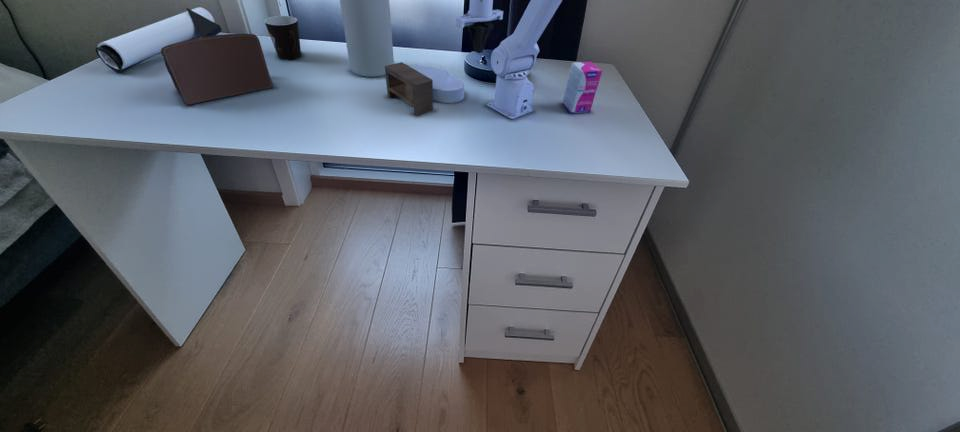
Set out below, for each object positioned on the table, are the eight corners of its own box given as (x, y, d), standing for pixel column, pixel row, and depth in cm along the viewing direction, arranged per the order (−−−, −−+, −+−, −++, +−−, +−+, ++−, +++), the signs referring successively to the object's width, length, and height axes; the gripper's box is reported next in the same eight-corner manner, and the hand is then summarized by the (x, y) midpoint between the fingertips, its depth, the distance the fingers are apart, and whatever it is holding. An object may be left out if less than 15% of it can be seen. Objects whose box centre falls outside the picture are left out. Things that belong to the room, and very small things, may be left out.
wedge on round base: (410, 96, 104) (457, 105, 102) (409, 71, 99) (458, 80, 97) (423, 83, 110) (468, 91, 108) (423, 59, 106) (469, 67, 104)
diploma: (123, 87, 104) (143, 61, 97) (87, 56, 99) (106, 26, 93) (213, 43, 130) (234, 21, 123) (187, 17, 125) (208, -8, 119)
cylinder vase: (373, 81, 109) (361, -22, 92) (341, 69, 113) (323, -31, 97) (403, 68, 117) (397, -29, 100) (371, 57, 121) (360, -38, 105)
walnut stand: (433, 110, 99) (432, 79, 93) (416, 116, 96) (415, 84, 91) (403, 91, 105) (401, 61, 100) (387, 96, 103) (384, 66, 97)
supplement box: (571, 114, 102) (581, 71, 95) (561, 104, 106) (571, 61, 99) (590, 113, 104) (603, 70, 96) (580, 102, 108) (591, 60, 100)
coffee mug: (275, 51, 120) (265, 16, 113) (305, 50, 122) (297, 15, 116) (272, 66, 112) (261, 29, 105) (304, 64, 114) (296, 28, 107)
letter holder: (274, 88, 102) (257, 30, 93) (186, 106, 92) (157, 44, 82) (261, 74, 107) (244, 19, 98) (176, 90, 97) (148, 30, 88)
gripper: (491, -12, 102) (487, 42, 111) (448, -6, 94) (447, 52, 103) (511, -6, 99) (505, 49, 108) (467, 1, 91) (465, 60, 100)
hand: (478, 51), depth 105 cm, fingers closed
